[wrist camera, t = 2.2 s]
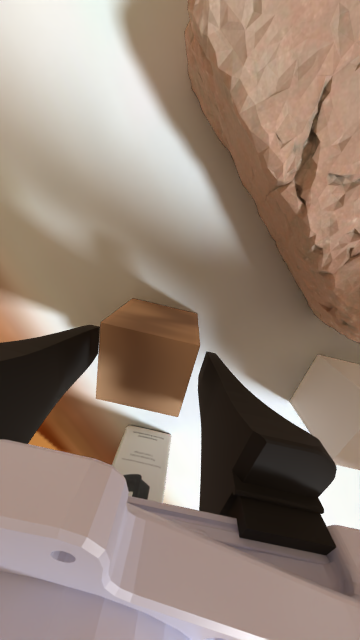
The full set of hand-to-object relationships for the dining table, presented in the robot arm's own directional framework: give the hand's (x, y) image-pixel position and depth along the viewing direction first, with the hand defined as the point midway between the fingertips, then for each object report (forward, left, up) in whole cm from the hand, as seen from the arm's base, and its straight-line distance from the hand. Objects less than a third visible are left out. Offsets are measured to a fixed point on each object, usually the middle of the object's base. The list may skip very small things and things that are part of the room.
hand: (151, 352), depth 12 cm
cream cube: (-15, +1, -3) cm, 15 cm away
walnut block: (0, 0, -3) cm, 3 cm away
